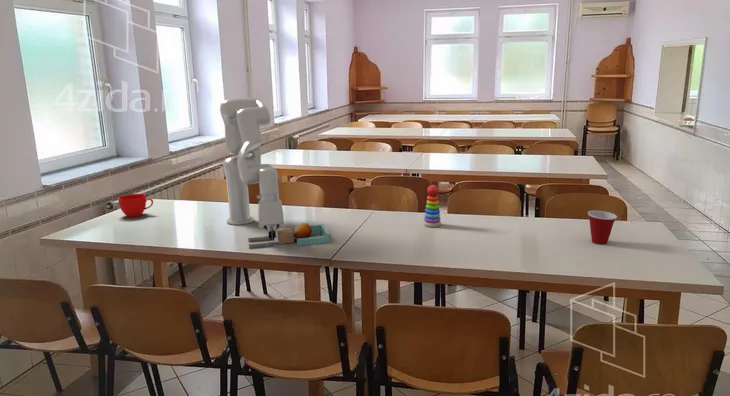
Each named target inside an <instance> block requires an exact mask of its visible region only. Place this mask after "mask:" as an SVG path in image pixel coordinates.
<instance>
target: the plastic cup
mask: <svg viewBox="0 0 730 396" xmlns="http://www.w3.org/2000/svg"><path fill="white" fill-rule="evenodd" d="M587 215H588V218H589V228H590V229H589V230H590V236H591V243H593V244H596V245H607V244H608V242H609V239H610V235H611V232H612V229H613V225H614V223H615V222H616V220H617V218H618V215H616V214H615V213H613V212H609V211H604V210H603V211H602V210H589V211H587Z"/></svg>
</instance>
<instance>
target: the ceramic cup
mask: <svg viewBox="0 0 730 396" xmlns="http://www.w3.org/2000/svg"><path fill="white" fill-rule="evenodd" d="M148 201H150V202H151V204H150V205H149V206H147V207H146V205H147V202H148ZM118 204H119V209H120V210H121V212H122V213H123V214H124V215H125V216H127V217H128V218H139V217H141V216H142V214H143V213H144V212H145V210H147V209H149V208H151V207H152V206H153V205H154V199H152V198H151V197H150V198H149V197H147V195H146V194H145V193H143V194H142V193H132V194H125V195H122V196H118Z"/></svg>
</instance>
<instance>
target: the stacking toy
mask: <svg viewBox="0 0 730 396" xmlns="http://www.w3.org/2000/svg"><path fill="white" fill-rule="evenodd" d="M426 192H427V194H428V195H427V197H426V199H427V200H426V205H425V209H424V218H423V220H424V221H423V225H424V226H425V227H428V228H438V227H440V226H441V225H442V224H441V223H442V222H441V213H440V205H439V204H440V201H439V196H438V195H439V188H438V186H437V185H434V184H431V185H429V186H428V187H427V191H426Z"/></svg>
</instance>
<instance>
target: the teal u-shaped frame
mask: <svg viewBox="0 0 730 396" xmlns="http://www.w3.org/2000/svg"><path fill="white" fill-rule="evenodd" d="M309 225H310V226H311V228H312V234H311V237H310V238H301V239H296V245H297V246H305V245H307V246H308V245H315V244H326V243H327V244H328V243H330V237H329V235H330V233H329V231H328V230H327V228H326V227H325V225H324V223H319V224H318V223H317V224H309ZM297 226H298V225H297ZM297 226H293V227H292V229H293V231H294V229H295V227H297ZM312 235H313V236H314V235H321V236H315V237H312Z"/></svg>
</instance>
